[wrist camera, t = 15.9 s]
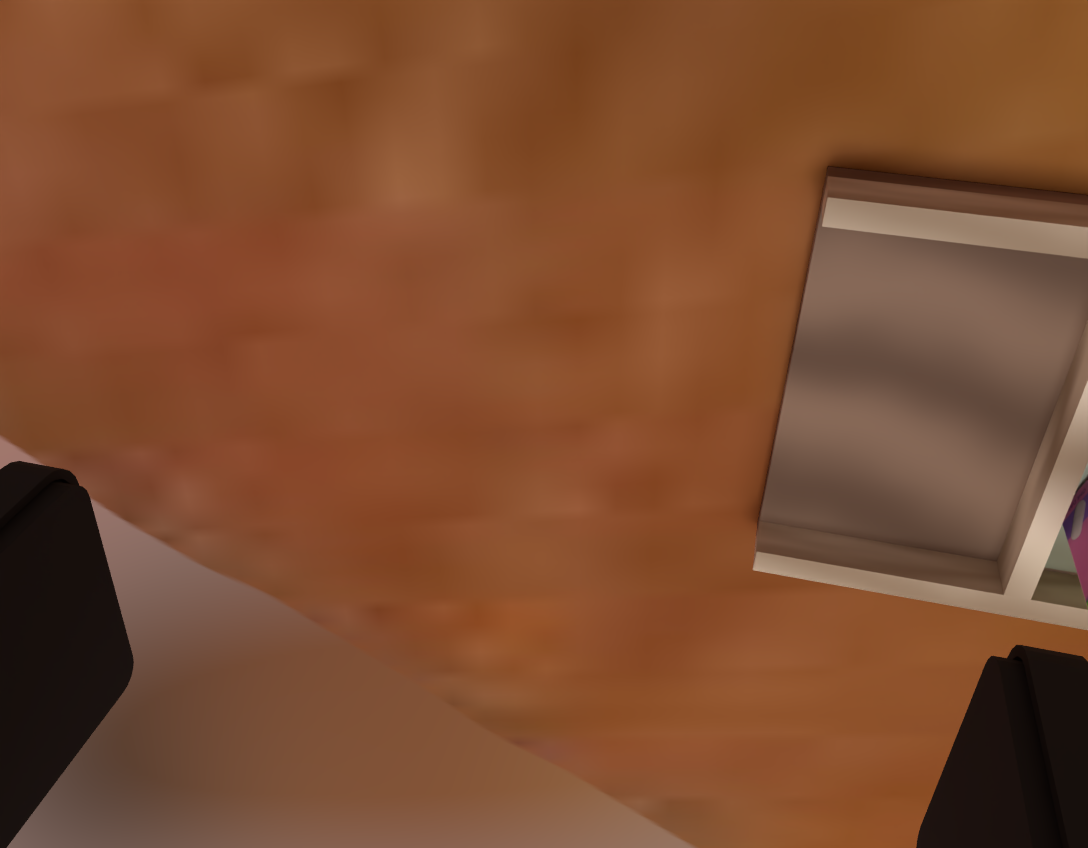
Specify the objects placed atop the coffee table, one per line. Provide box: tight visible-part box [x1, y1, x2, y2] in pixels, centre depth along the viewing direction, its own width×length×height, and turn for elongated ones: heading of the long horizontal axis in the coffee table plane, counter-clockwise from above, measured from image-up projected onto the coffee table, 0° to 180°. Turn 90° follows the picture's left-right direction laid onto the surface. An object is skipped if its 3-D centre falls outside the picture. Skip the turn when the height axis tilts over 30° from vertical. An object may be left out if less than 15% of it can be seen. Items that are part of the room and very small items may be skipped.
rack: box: [753, 166, 1088, 630], centre depth 37 cm, size 16×20×3 cm
